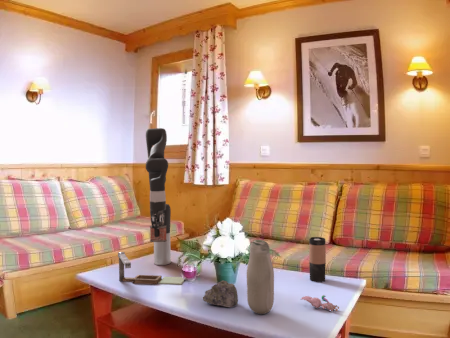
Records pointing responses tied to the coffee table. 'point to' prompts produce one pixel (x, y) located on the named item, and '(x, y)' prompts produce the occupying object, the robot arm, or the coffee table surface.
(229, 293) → the mineral rock
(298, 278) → the coffee table surface
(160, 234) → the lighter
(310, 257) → the travel mug
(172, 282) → the pad
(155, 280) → the dock
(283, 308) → the coffee table surface
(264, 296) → the brown clay vase
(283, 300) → the coffee table surface
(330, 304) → the pink elongated figure
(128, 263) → the grey bar
